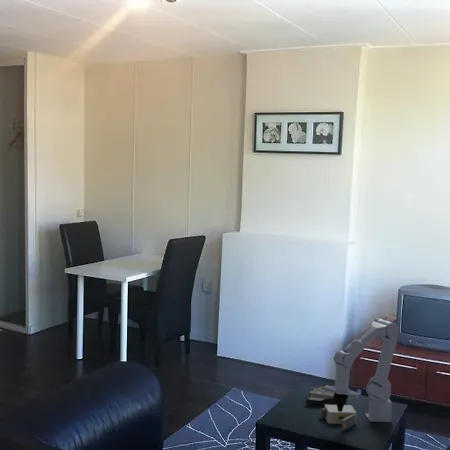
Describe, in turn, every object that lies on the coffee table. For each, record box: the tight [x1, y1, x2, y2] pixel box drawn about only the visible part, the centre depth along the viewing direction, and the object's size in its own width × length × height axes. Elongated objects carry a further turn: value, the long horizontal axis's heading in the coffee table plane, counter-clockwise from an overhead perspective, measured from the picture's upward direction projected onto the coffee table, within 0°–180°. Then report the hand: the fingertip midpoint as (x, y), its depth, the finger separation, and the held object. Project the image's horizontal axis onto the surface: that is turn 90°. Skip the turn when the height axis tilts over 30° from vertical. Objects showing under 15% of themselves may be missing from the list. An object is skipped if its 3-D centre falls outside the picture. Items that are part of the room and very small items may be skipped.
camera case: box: [319, 404, 357, 425], centre depth 263 cm, size 14×8×5 cm, turn 93°
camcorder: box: [305, 386, 347, 405], centre depth 285 cm, size 16×20×5 cm
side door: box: [341, 413, 357, 432], centre depth 255 cm, size 10×2×4 cm, turn 138°
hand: (340, 410), depth 255 cm, fingers closed
